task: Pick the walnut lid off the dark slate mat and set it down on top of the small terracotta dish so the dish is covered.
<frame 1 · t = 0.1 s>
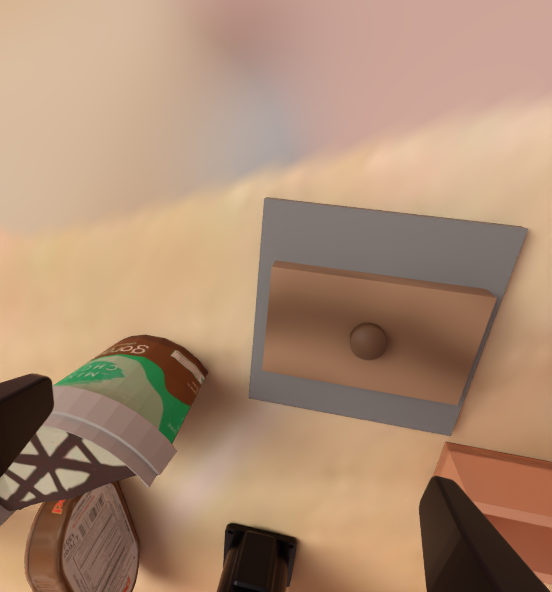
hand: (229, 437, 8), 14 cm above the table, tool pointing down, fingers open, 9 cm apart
lid: (365, 327, 21), point 1 cm above the table, touching mat
mat: (364, 322, 22), on the table
dish: (503, 483, 24), on the table
food container: (139, 357, 26), on the table
tin: (122, 508, 33), on the table
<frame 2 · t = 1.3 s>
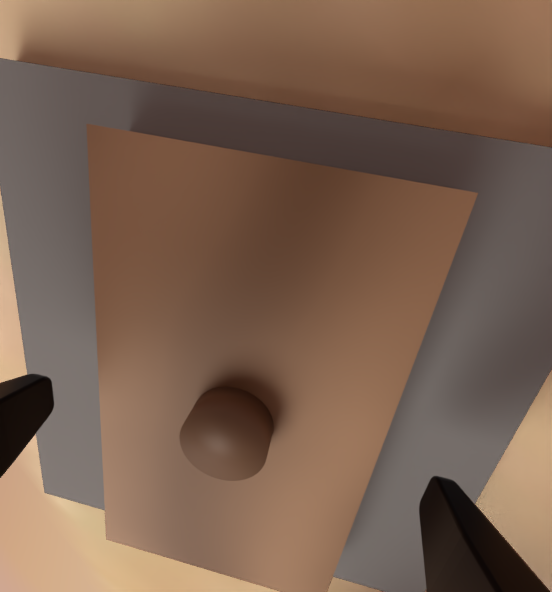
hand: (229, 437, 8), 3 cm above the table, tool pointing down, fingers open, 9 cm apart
lid: (246, 386, 9), point 1 cm above the table, touching mat
mat: (253, 370, 10), on the table
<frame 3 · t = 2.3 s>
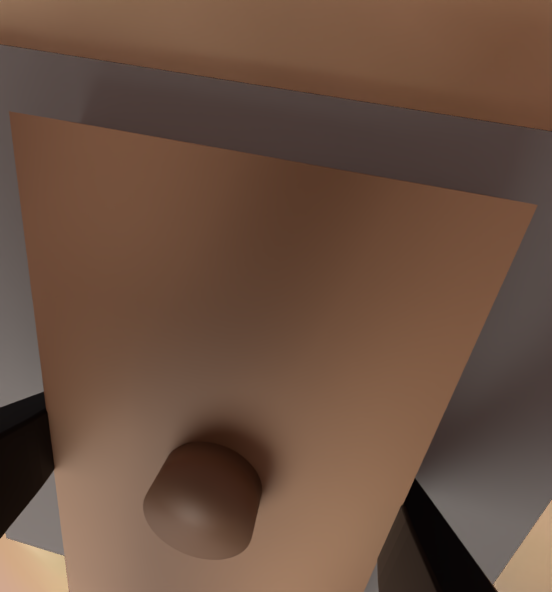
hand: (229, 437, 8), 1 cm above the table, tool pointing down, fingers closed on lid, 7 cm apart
lid: (232, 430, 8), point 1 cm above the table, touching gripper, mat
mat: (241, 407, 9), on the table
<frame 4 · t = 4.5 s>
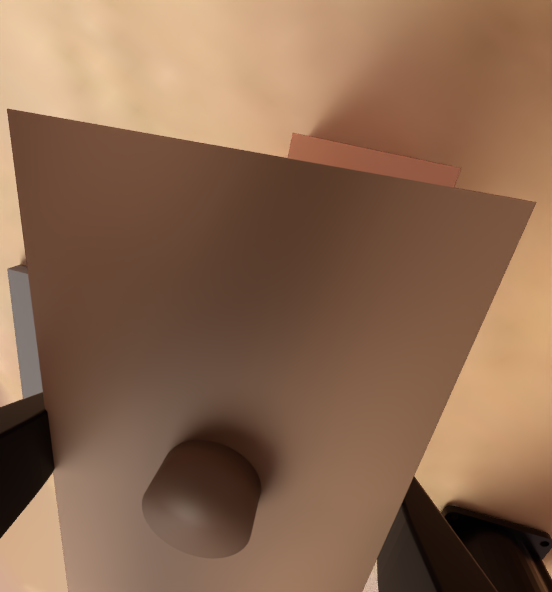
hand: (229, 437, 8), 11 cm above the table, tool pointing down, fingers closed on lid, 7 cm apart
lid: (231, 429, 8), point 11 cm above the table, touching gripper
mat: (125, 388, 22), on the table
dish: (336, 255, 17), on the table
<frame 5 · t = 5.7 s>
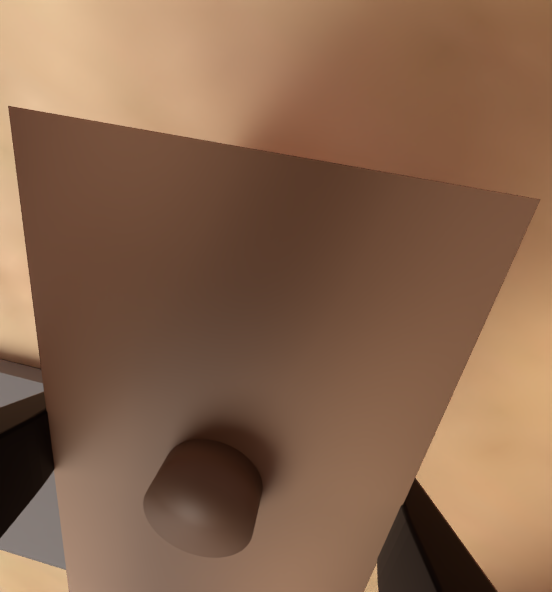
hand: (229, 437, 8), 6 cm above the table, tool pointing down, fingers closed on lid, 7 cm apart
lid: (232, 428, 8), point 6 cm above the table, touching gripper
mat: (46, 471, 19), on the table
when the fingers open (6 cm above the table, at t = 6.6 s): lid drops 1 cm, resting on dish.
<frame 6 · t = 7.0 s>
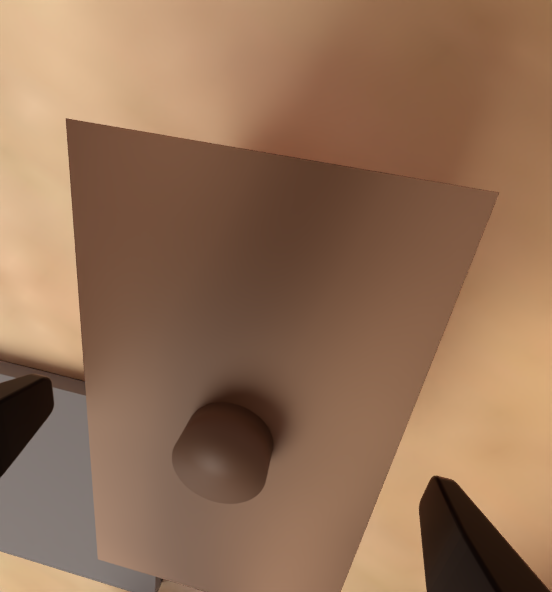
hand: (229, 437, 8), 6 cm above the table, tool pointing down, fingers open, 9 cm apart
lid: (244, 399, 9), point 4 cm above the table, touching dish
mat: (45, 473, 19), on the table
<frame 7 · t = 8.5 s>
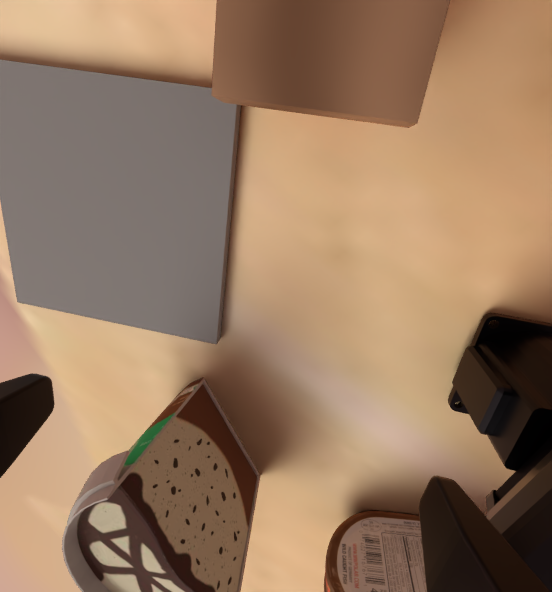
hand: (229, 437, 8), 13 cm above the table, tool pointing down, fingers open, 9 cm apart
mat: (116, 213, 20), on the table
food container: (199, 436, 26), on the table
tin: (426, 520, 25), on the table
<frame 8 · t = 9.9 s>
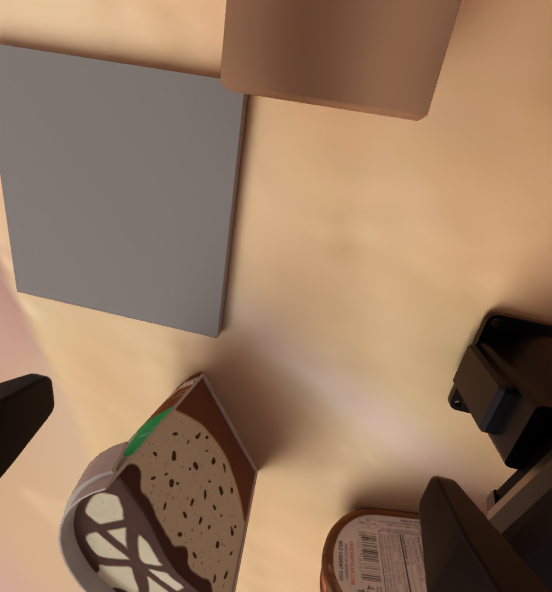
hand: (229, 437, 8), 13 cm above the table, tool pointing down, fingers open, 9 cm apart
mat: (119, 203, 20), on the table
food container: (197, 430, 26), on the table
tin: (423, 519, 25), on the table
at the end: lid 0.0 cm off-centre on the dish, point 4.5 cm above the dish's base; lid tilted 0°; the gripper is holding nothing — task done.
